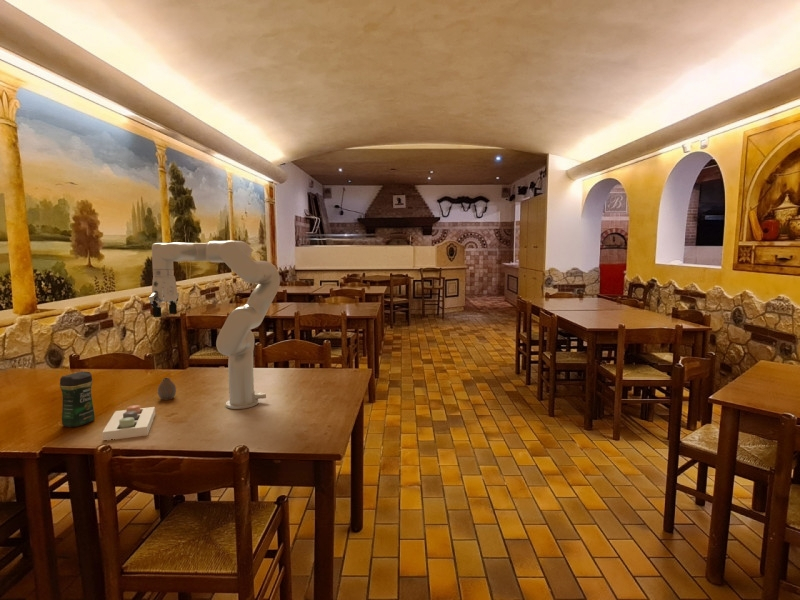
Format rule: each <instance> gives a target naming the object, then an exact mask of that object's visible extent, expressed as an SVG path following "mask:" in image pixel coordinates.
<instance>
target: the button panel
mask: <svg viewBox="0 0 800 600" xmlns="http://www.w3.org/2000/svg"><path fill="white" fill-rule="evenodd" d="M140 410H141V414H138V420H134V422H135V427H130V428H122V429H120V424H119V420H121V419H123V413H125V412H127V409H123V410H115V411H114V413H112V414H113V415H112V416H111V417H110V419H109V421H108V422H107V424H106V425H105V427H104V429H103V431H102V434H101V435H102V441H103V440H107V441H113V440H114V439H115V440H120V439H123V440H124V439H128V438H137V437H143V436H144V437H146V436H149V433H150V429H151V427H152V425H153V422H154V419H155V416H156V407H155V406H151V407H142V408H141V407H140ZM111 439H113V440H111Z"/></svg>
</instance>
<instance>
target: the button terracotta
mask: <svg viewBox="0 0 800 600" xmlns="http://www.w3.org/2000/svg"><path fill="white" fill-rule="evenodd" d="M140 408H141V405H140V404H136V405H134V404H133V405H129V406H127V407H126V410H127V412H129V411H137V413H138V414H141V410H140Z"/></svg>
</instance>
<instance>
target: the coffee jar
mask: <svg viewBox="0 0 800 600" xmlns="http://www.w3.org/2000/svg"><path fill="white" fill-rule="evenodd" d="M93 381H94V380H93V375H92V373H91V372H90V371H84V370H83V371H77V372H74V373H70V374H66V375H62V376H61V377H60V379H59V388H60V389H61V390H60V391H61V394H62V407H61V410H62V411H61V424H62V426H64V427H66V428H72V427H80V426H83V425H87V424H89V423H90V422H93V421H94V420H95V416H96V415H95V409H94V404H93V396H92V395H93V394H92V385H93Z"/></svg>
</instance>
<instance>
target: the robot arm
mask: <svg viewBox="0 0 800 600" xmlns="http://www.w3.org/2000/svg"><path fill="white" fill-rule="evenodd" d="M252 253H253V251H252V247H251V246H250V245H249V244H248V242H246V241H242V240H210V241H208V242H169V243H167V242H155V243H152V245H151V257H152V258H151V259H152V260H151V261H152V276H153V277H152V284H151V285H152V286H151V294H150V295H149V296H148V300H149V304H150V305H151V308H152V317H153V318H162V307H161V304H162V303H167V302H168V303H169V304H168V313H169V315H177V314H178V311H177V310H178V308H177V307H178V305H177V304H178V301H179V297H180V293H179V292H178V286H177V281H176V277H175V275H174V273H175V271H174V269H175V268H174V262H210V263H225V264H226V265H227V267H228V268H229V269H230V270H231V271H233V273H234V274H236V275H237V276H238V277H239V278H240V279H241V280H243V281H244V282H246V283H248V284H257V285H256V286H255V288H254V289H253V290H252V292H251V293H250V295H249V298H248V299H247V301H246V303H245V304H244V305H243V306H242V305H241V306H238V307H235V308H234V309H233V310H232V311H230V313H229V314H228V316H227V317H226V320H225V321H224V324H223V325H222V328H221V329H220V331H219V333H218V335H217V337H216V342H215V345H216V349H217V351H218V353H220V354H221V355H223V356H227V357H228V360H227V361H228V363H227V366H228V370H227V371H228V390H229V391H228V393H229V397H228V400H227V401H226V402H225V407H226V408H228V409H232V410H243V409H244V410H245V409H248V408H252V407H255V406H257V405H258V404H259V399H260V400H262V399H266V398H267V394H266V393H263V392H259V393H258V392H256V391H255V379H254V349H255V343H256V342H255V341H256V340H255V335H254V333H253V332H252V330H253V329H255V328H258V327H259V326H260V325H262V322H263V320H264V319H265V316H266V314H267V313H268V311H269V308H270V307H271V306H272V303H273V301H274V299H275V297H276V295H277V294H278V291H279V288H280V284H281V277H280V276H281V275H280V273H279V270H278V268H277V267H276V266H275V265H274V264H273V263H272V262H269V261H267V260H254V259H253V258H252V257H251V256H252Z"/></svg>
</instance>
